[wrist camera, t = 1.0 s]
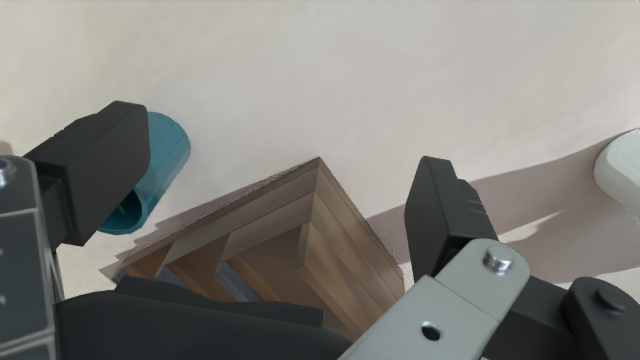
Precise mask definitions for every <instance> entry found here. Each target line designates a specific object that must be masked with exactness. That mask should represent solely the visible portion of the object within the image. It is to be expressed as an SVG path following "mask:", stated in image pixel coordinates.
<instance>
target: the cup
mask: <svg viewBox="0 0 640 360" xmlns="http://www.w3.org/2000/svg"><path fill="white" fill-rule="evenodd" d="M147 113H148V124H149V138H150V152H151V157H150V164H149V167H148V170H147V172H146V174H145V175H144V176H143V177H142V179H141V180H140V181H139V182H138V183H137V184H136V186H135V187H134V188H133V189H132V190H131V191H130V193H129V194H128V195H127V196H126V197H125V198H124V199H123V201H122V202H121V203H120V204H119V205H118V206H117V208H116V209H115V210H114V211H113V212H112V213H111V214H110V216H109V217H108V218H107V219H106V220H105V221H104V223H103V224H102V225H101V226H100V227H99V228H98V230H97V231H99V232H103V233H108V234H113V235H123V234H131V233H133V232H135V231H137V230H138V229H140V228H142V227H143V225H144V224H145V222H146V221H147V219H148V218H149V216H150V215H151V214H152V212H153V211H154V209H155V208H156V206H157V205H158V203H159V202H160V200H161V199H162V198H163V196H164V195H165V193H166V192H167V190H168V189H169V187H170V186H171V184H172V183H173V181H174V180H175V179H176V177H177V176H178V174H179V173H180V171H181V170H182V168H183V167H184V165H185V163H186V162H187V160H188V158H189V156H190V142H189V139H188V137H187V135H186V133H185V131H184V130H183V129H182V127H181V126H180V125H179V124H178V123H176V122H175V121H174V120H172V119H171V118H169V117H167V116H165V115H163V114H160V113H156V112H147Z"/></svg>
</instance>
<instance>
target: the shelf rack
mask: <svg viewBox="0 0 640 360" xmlns="http://www.w3.org/2000/svg"><path fill="white" fill-rule="evenodd" d="M124 275H128V276H134V277H139V278H145V279H151V280H157V281H163V282H169V283H174V284H176V285H179V286H181V287H184V288H186V289H189V290H191V291H193V292H196V293H198V294H201V295H203V296H206V297H208V298H210V299H213V300H215V301H218V302H226V303H227V302H254V301H280V302H286V303H291V304H297V305H303V306H309V307H315V308H321V309H324V313H323V324H322V325H324V326H327V327H329V328H331V329H333V330H335V331H337V332H338V333H340V334H342V335H343V336H345V337H346V338H348V339H349V340H351V341H352V342H353V343H355V342H356V341H357V340H358V339H359V338H360V337H361V336H362V335H363V334H364V333H365V332H366V331H367V330H368V329H369V328H370V327H371V326H372V325H373V324H374V323H375V322H376V321H377V320H378V319H379V318H380V317H381V316H382V315H383V314H384V313H385V312H387V311H388V310H389V309H390V308H391V307H392V306H393V305H394V304H395V303H396V302H397V301H398V300H399V299H400V298H401V297H402V296H403V295H404V294H405V287H404V278H403V272H402V270H401V269H400V267H399V266H398V265H397V263H396V262H395V260H394V259H393V258H392V256H391V255H390V254H389V252H388V251H387V249H386V248H385V247H384V245H383V244H382V242H381V241H380V240H379V238H378V237H377V235H376V234H375V233H374V231H373V230H372V229H371V227H370V226H369V224H368V223H367V222H366V220H365V219H364V217H363V216H362V215H361V213H360V212H359V211H358V209H357V208H356V206H355V205H354V204H353V202H352V201H351V199H350V198H349V197H348V195H347V194H346V192H345V191H344V190H343V188H342V187H341V186H340V184H339V183H338V181H337V180H336V179H335V177H334V176H333V174H332V173H331V172H330V170H329V169H328V168H327V166H326V165H325V163H324V162H323V161H322V159H321V158H320V157H318V158H316V159H314V160H313V161H311V162H309V163H307V164H305V165H303V166H301V167H299V168H297V169H296V170H294V171H292V172H290V173H288V174H286V175H284V176H282V177H280V178H279V179H277V180H275V181H273V182H271V183H269V184H267V185H265V186H263V187H262V188H260V189H258V190H256V191H254V192H252V193H250V194H248V195H246V196H245V197H243V198H241V199H239V200H237V201H235V202H233V203H231V204H229V205H228V206H226V207H224V208H222V209H220V210H218V211H216V212H214V213H213V214H211V215H209V216H207V217H205V218H203V219H201V220H199V221H197V222H196V223H194V224H192V225H190V226H188V227H186V228H184V229H182V230H180V231H179V232H177V233H175V234H173V235H171V236H169V237H167V238H165V239H163V240H162V241H160V242H158V243H156V244H154V245H152V246H150V247H148V248H146V249H145V250H143V251H141V252H139V253H137V254H135V255H133V256H131V257H129V258H128V259H126V260H124V261H123V263H122V264H121V266H120V267H119V269H118V270H117V272H116V273H115V275H114V276H113V278H112V279H111V280H112V281H113V282H115V283H116V284H117V285H118V284H119V282H120V281H121V279H122V278H123V276H124Z"/></svg>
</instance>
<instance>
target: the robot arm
mask: <svg viewBox="0 0 640 360" xmlns="http://www.w3.org/2000/svg"><path fill="white" fill-rule="evenodd" d="M150 157H151V152H150V138H149V124H148V113H147V109H146V107H145V106H144V105H140V104H134V103H128V102H123V101H114V102H112V103H111V104H109V105H108V106H107V107H105V108H104V109H102V110H101V111H99V112H98V113H97V114H92V115H89V116H86V117H83V118H80V119H77V120H75V121H74V122H72V123H71V124H69V125H68V126H66V127H65V128H64V130H61V131H59V132H58V133H56V134H55V135H54V137H50V138H49V139H47V140H46V141H44V142H43V143H41V144H40V145H38V146H37V147H36V148H34V149H33V150H31V151H30V152H28V153H27V154H25V155H24V156H22V157H19V156H0V360H481V358H482V357H484V358H487V359H489V360H640V305H639V304H638V303H637V302H636V301H635V300H634V299H633V298H632V297H631V296H630V295H628V294H627V293H625V292H624V291H623V290H621V289H619V288H618V287H616V286H614V285H612V284H610V283H608V282H606V281H603V280H600V279H596V278H592V277H580V278H577V279H576V280H574V282H573V283H572V285H571V286H570V287H569V289H568V290H566V289H563V288H561V287H558V286H556V285H553V284H551V283H548V282H545V281H543V280H540V279H538V278H536V277H534V276H532V275H531V268H530V265H529V263H528V262H527V260H526V259H525V258H524V257H523V256H522V255H521V254H520V253H519V252H517V251H516V250H515V249H513V248H512V247H510V246H508V245H506V244H504V243H502V242H499V240H498V237H497V235H496V233H495V231H494V229H493V226H492V224H491V222H490V220H489V218H488V215H487V214H486V211H485V209H484V207H483V205H481V203H482V202H481V200H480V198H479V196H478V193H477V191H476V190H475V189H474V188H473V187H472V186H471V185H470V184H468V183H467V182H466V181H465V180H462V179H457V176H456V174H455V171H454V169H453V166H452V164H451V162H450V160H445V159H439V158H434V157H428V156H423V157H422V158H421V160H420V163H419V165H418V168H417V171H416V174H415V177H414V180H413V183H412V186H411V189H410V192H409V195H408V199H407V202H406V206H405V214H404V220H405V227H406V233H407V239H408V245H409V252H410V258H411V264H412V270H413V276H414V283H415V284H414V285H413V286H412V287H411V288H410V289H409V290H408V291H407V292H406V293H405V294H404V295H403V296H402V297H401V298H400V299H399V300H398V301H397V302H396V303H395V304H394V305H393V306H392V307H391V308H390V309H389V310H388V311H387V312H385V313H384V314H383V315H382V316H381V317H380V318H379V319H378V320H377V321H376V322H375V323H374V324H373V325H372V326H371V327H370V328H369V329H368V330H367V331H366V332H365V333H364V334H363V335H362V336H361V337H360V338H359V339H358V340H357V341H356V342H355V343H353V342H352V341H351V340H349V339H348V338H346V337H345V336H343V335H342V334H340V333H338V332H337V331H335V330H333V329H331V328H329V327H327V326H324V325H322V324H323V313H324V309H321V308H315V307H309V306H303V305H297V304H291V303H286V302H280V301H254V302H227V303H226V302H218V301H215V300H213V299H210V298H208V297H206V296H203V295H201V294H198V293H196V292H193V291H191V290H189V289H186V288H184V287H181V286H179V285H176V284H174V283H169V282H163V281H157V280H151V279H145V278H139V277H134V276H128V275H124V276H123V278H122V279H121V281H120V282H119V284H118V285H117V287H116V288H115V290H106V291H99V292H92V293H88V294H83V295H79V296H76V297H73V298H69V299H66V300H65V297H64V291H63V285H62V279H61V273H60V267H59V261H58V256H57V252H56V248H57V247H58V246H59V245H60V244H61V243H64V244H70V245H75V246H81V247H83V246H84V245H85V243H86V242H87V241H88V240H89V239H90V238H91V236H92V235H93V234H94V233H95V232H96V231H97V230H98V228H99V227H100V226H101V225H102V224H103V223H104V221H105V220H106V219H107V218H108V217H109V216H110V214H111V213H112V212H113V211H114V210H115V209H116V208H117V206H118V205H119V204H120V203H121V202H122V201H123V199H124V198H125V197H126V196H127V195H128V194H129V193H130V191H131V190H132V189H133V188H134V187H135V186H136V184H137V183H138V182H139V181H140V180H141V179H142V177H143V176H144V175H145V174H146V172H147V170H148V167H149V164H150Z"/></svg>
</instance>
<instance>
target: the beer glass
mask: <svg viewBox="0 0 640 360" xmlns="http://www.w3.org/2000/svg"><path fill="white" fill-rule="evenodd" d="M593 173H594V179H595V181H596V183H597V185H598V186H599V187H600V188H601V189H602V190H603V191H604V192H606V193H607V194H608V195H610V196H611V197H613V198H615V199H616V200H618V201H619V202H620V203H622V204H623V205H624V206H625V207H626V208H627V209H628V210H629V211H630V212H631V214H632V215H633V217H634V218H635V220H636V222H637V223H638V225H639V227H640V129H636V130H633V131H630V132H628V133H625V134H623V135H621V136H619V137H618V138H616V139H615V140H613V141H612V142H611V143H609V144H608V145H607V146H606V147H605V148H604V149H603V150H602V152H601V153H600V154H599V156H598V158H597V160H596V162H595V165H594V171H593Z"/></svg>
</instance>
